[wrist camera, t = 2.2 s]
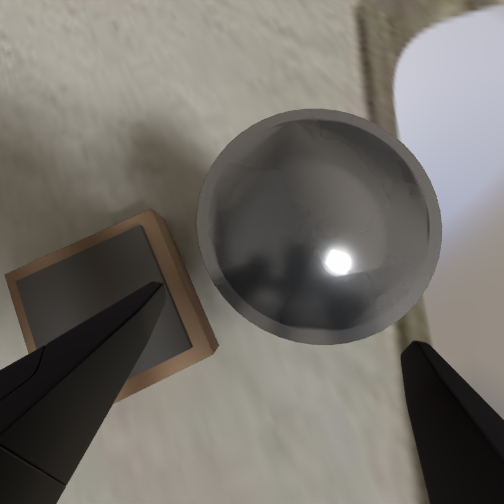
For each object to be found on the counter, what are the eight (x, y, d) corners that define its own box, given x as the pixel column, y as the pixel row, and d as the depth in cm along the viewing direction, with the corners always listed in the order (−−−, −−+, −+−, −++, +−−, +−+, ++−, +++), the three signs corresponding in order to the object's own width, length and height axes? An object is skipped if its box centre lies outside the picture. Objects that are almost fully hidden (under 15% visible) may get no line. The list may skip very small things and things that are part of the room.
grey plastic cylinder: (255, 325, 18) (255, 411, 5) (218, 247, 19) (145, 160, 6) (334, 287, 19) (509, 280, 6) (294, 211, 20) (367, 63, 7)
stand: (81, 413, 17) (46, 438, 14) (37, 276, 19) (-4, 274, 16) (219, 345, 18) (211, 356, 15) (164, 218, 20) (147, 206, 17)
